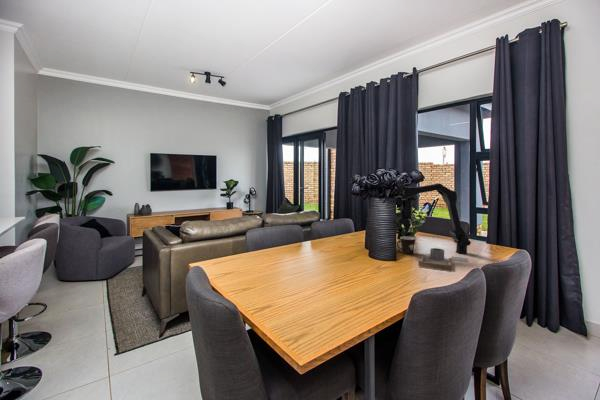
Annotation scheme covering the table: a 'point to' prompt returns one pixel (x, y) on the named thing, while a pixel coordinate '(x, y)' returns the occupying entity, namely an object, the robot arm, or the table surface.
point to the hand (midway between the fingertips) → (406, 233)
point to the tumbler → (437, 254)
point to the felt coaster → (459, 259)
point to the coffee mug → (407, 245)
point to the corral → (435, 264)
